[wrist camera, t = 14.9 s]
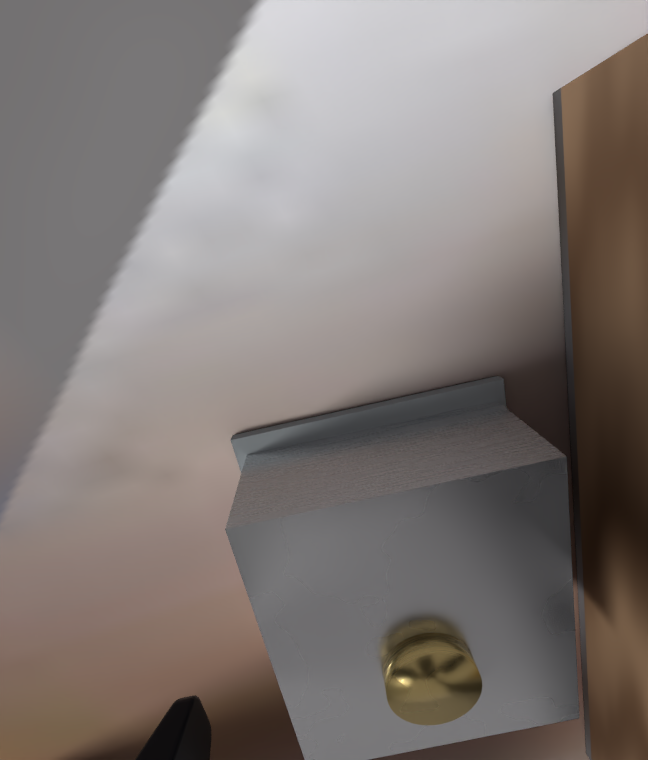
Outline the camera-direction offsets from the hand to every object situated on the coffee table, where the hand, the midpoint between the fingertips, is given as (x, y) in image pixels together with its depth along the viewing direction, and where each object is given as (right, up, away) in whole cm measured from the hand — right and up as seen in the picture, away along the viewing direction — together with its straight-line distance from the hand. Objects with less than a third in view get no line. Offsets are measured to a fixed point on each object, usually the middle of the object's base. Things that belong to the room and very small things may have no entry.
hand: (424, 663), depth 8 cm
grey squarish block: (0, +1, +4) cm, 4 cm away
